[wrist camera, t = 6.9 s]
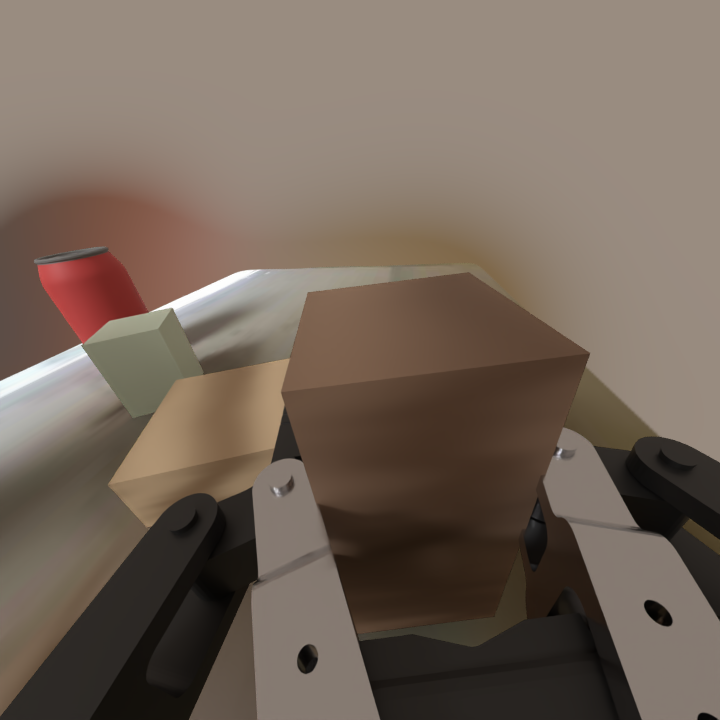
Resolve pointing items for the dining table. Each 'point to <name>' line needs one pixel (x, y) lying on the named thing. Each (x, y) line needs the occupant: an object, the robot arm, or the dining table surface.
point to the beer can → (89, 288)
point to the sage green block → (143, 358)
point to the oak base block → (204, 439)
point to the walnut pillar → (426, 439)
